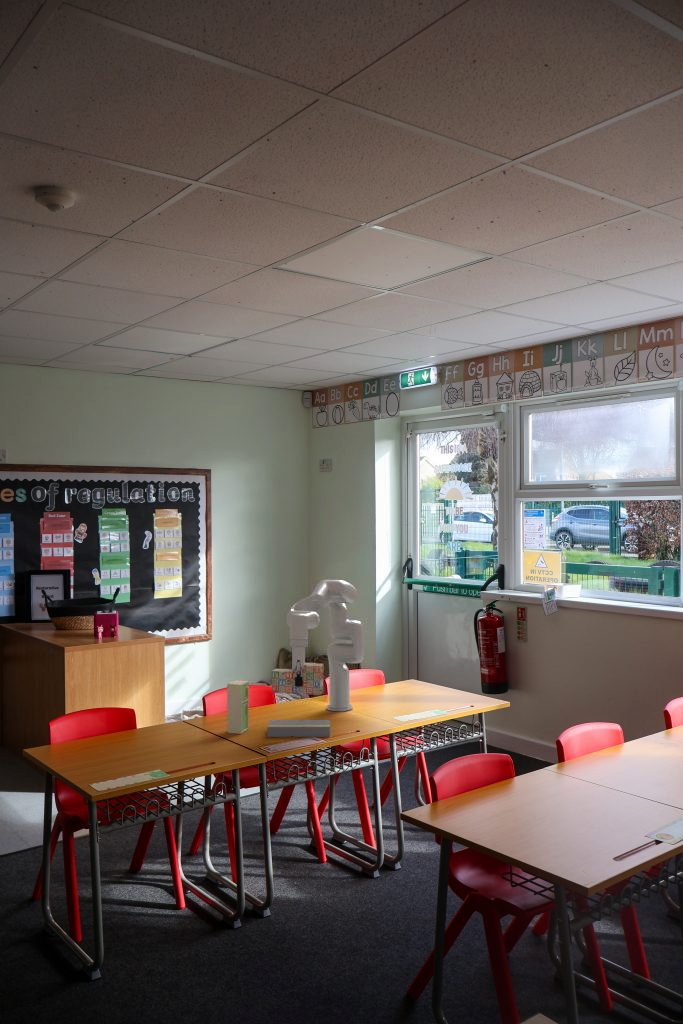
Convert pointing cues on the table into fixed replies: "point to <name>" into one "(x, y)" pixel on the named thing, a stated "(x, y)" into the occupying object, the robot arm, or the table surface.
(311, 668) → the stack of blocks
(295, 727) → the block
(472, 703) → the table surface
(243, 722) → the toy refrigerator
